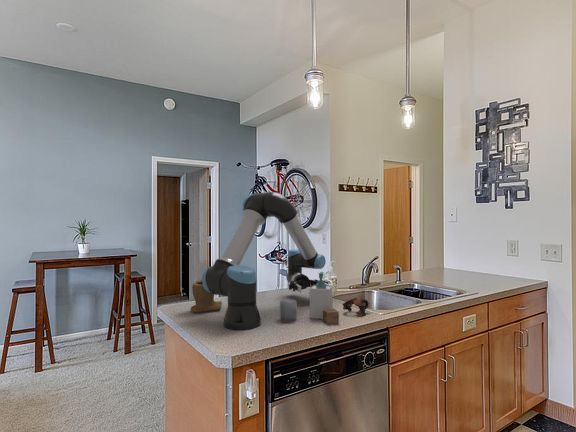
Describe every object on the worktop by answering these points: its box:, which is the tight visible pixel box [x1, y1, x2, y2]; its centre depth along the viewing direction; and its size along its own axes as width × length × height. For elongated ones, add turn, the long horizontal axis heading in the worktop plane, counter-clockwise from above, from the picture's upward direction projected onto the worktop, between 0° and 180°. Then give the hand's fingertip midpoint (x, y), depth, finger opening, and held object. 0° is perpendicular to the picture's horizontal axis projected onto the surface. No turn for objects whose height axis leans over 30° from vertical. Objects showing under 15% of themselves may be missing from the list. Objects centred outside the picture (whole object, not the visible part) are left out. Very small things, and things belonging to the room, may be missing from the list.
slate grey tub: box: [279, 298, 298, 323], centre depth 152 cm, size 7×7×8 cm
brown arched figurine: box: [342, 297, 370, 318], centre depth 160 cm, size 12×10×8 cm
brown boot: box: [190, 279, 223, 313], centre depth 169 cm, size 15×12×15 cm
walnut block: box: [322, 308, 340, 326], centre depth 147 cm, size 5×5×5 cm
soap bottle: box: [309, 271, 334, 320], centre depth 157 cm, size 9×9×19 cm
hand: (314, 288), depth 166 cm, fingers open, 13 cm apart
